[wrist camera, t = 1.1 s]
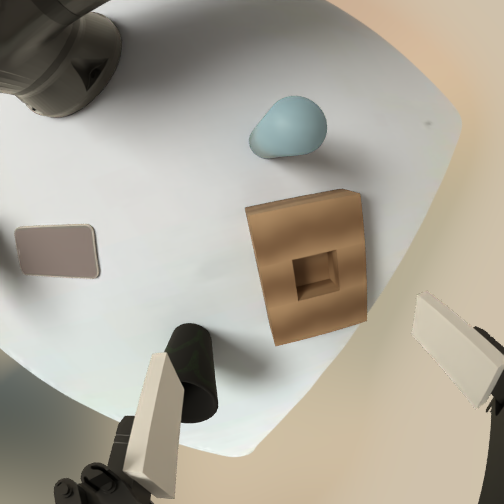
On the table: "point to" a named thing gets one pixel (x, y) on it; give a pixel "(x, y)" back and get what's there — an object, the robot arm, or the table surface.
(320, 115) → the pin
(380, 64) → the table surface
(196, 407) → the cup
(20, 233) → the smartphone
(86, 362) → the table surface
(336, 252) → the bore block
